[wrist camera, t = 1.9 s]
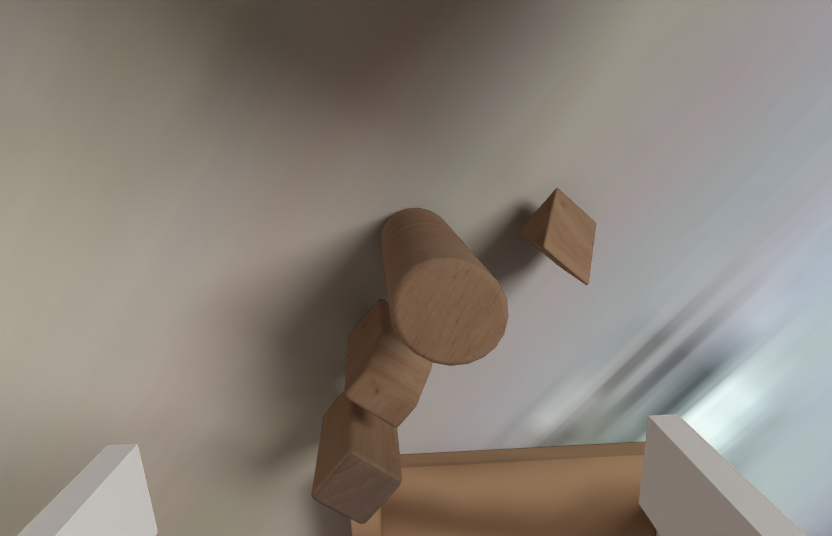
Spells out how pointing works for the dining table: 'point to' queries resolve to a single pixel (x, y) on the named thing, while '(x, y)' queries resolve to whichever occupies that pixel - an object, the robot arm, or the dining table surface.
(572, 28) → the dining table surface
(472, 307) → the wooden block set
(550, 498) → the wooden board
